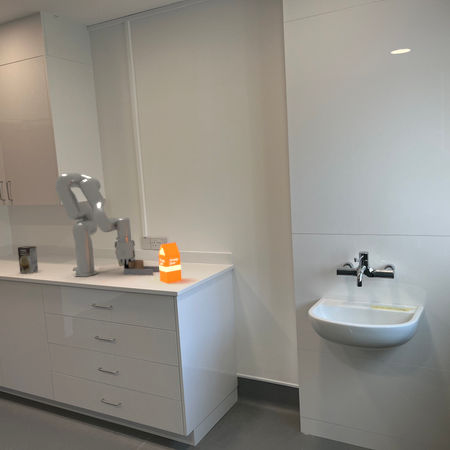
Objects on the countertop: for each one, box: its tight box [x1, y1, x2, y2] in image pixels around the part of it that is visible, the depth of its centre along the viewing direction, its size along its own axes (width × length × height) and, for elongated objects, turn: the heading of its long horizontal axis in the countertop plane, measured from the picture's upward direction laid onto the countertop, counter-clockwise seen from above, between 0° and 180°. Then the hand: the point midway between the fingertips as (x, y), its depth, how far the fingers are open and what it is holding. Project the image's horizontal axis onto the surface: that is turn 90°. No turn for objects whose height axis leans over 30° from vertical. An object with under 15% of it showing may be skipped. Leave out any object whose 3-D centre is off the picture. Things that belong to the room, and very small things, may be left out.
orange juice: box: [158, 242, 183, 284], centre depth 246 cm, size 8×9×20 cm
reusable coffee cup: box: [114, 239, 136, 267], centre depth 298 cm, size 13×12×15 cm
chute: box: [123, 265, 160, 276], centre depth 266 cm, size 18×9×4 cm, turn 70°
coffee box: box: [17, 245, 39, 274], centre depth 289 cm, size 9×6×16 cm
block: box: [129, 259, 145, 269], centre depth 267 cm, size 6×6×7 cm
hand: (127, 270), depth 269 cm, fingers closed
